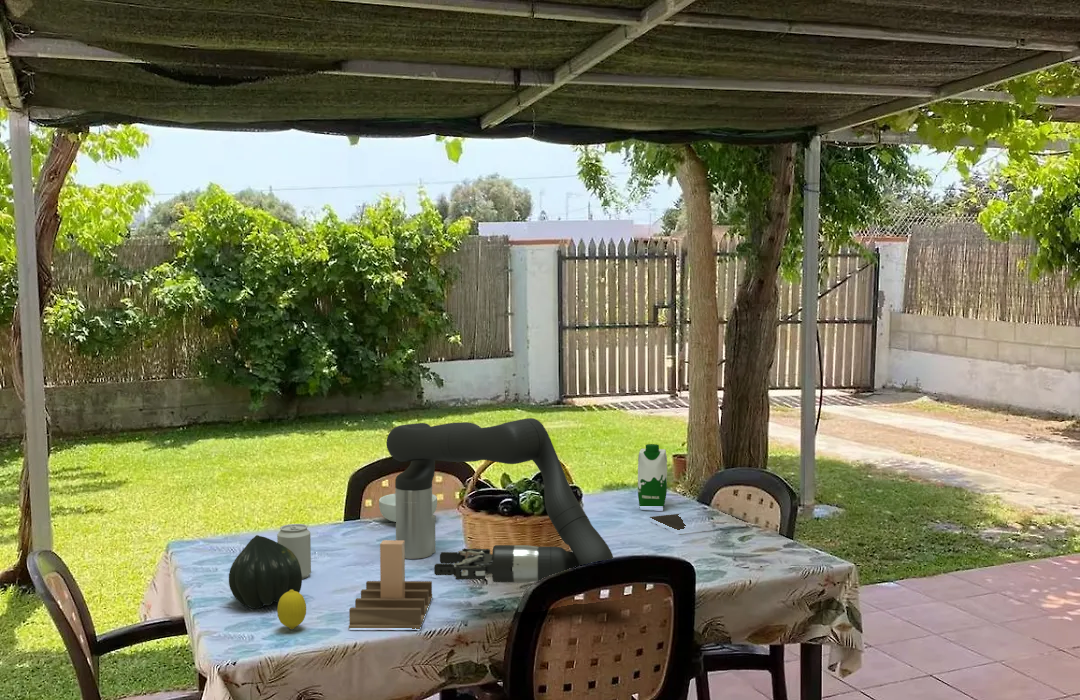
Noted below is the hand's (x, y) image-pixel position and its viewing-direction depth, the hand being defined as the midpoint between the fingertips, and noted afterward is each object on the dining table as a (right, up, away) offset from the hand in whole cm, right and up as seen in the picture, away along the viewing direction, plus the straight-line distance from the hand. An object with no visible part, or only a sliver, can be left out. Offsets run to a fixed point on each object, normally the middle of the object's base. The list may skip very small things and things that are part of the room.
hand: (437, 563), depth 198 cm
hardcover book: (+66, -7, +77) cm, 102 cm away
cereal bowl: (-17, -6, +80) cm, 82 cm away
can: (-36, -9, +27) cm, 46 cm away
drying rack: (-9, -11, +1) cm, 14 cm away
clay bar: (-9, -10, +1) cm, 13 cm away
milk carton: (+55, -5, +97) cm, 112 cm away
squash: (-38, -10, +8) cm, 40 cm away
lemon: (-28, -11, -8) cm, 31 cm away
